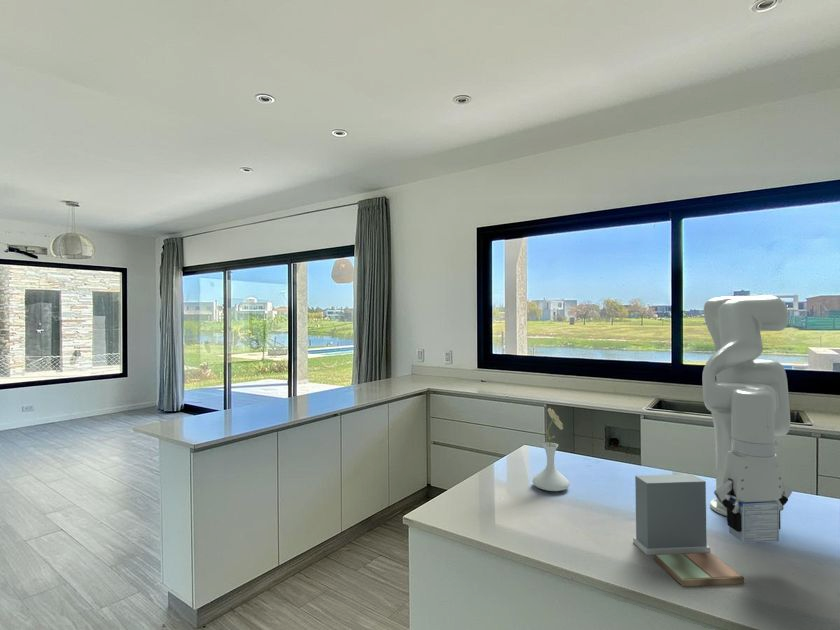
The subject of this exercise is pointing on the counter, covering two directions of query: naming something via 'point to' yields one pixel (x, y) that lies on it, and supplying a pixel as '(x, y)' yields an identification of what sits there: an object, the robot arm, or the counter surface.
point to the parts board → (698, 569)
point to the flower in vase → (551, 464)
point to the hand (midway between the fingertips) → (753, 527)
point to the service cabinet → (670, 514)
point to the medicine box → (758, 522)
